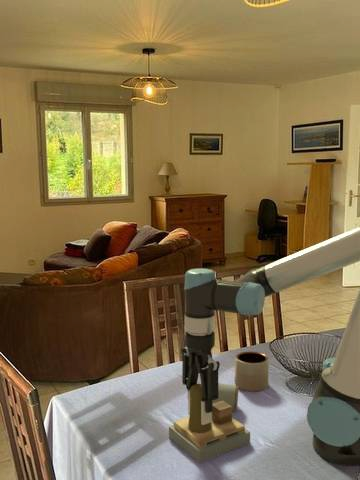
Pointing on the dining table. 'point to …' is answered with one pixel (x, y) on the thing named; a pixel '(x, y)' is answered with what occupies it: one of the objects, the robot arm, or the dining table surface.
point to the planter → (251, 371)
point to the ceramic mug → (228, 394)
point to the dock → (209, 444)
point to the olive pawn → (197, 410)
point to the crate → (221, 412)
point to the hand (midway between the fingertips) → (199, 417)
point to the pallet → (212, 434)
